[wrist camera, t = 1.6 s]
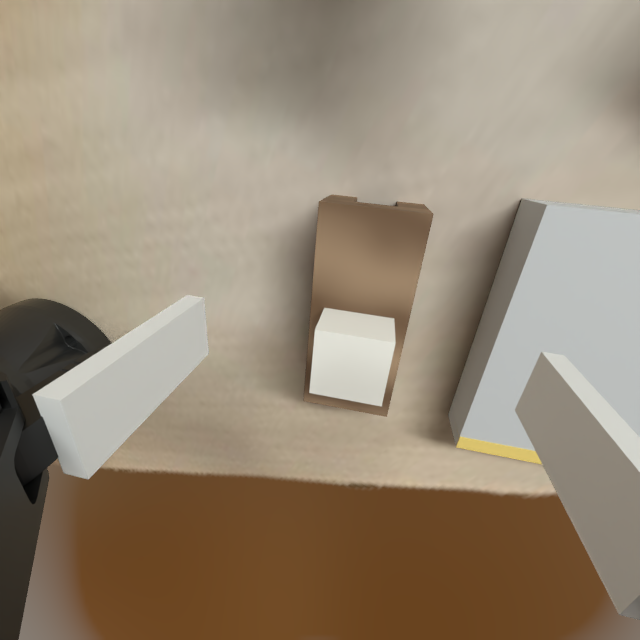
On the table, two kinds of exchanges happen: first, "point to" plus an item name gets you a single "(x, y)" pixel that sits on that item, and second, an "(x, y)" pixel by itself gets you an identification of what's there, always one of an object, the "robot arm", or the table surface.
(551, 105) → the table surface
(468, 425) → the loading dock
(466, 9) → the table surface
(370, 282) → the notched wooden block
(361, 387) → the small white block
